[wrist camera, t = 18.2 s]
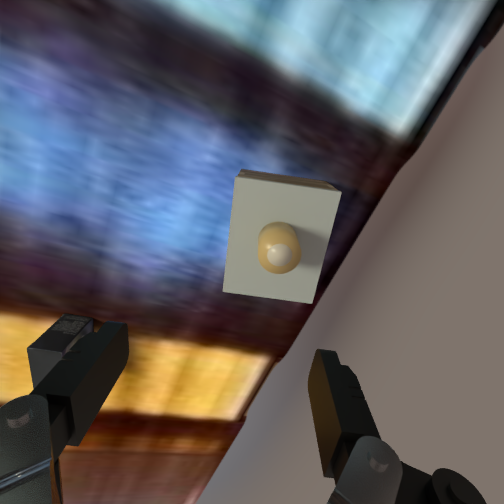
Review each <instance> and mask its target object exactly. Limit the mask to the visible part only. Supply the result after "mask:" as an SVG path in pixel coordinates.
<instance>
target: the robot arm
mask: <svg viewBox="0 0 504 504" xmlns="http://www.w3.org/2000/svg"><path fill="white" fill-rule="evenodd" d="M128 356H129V342H128V326H127V324H126V323H121V322H113V321H106V322H105V323H104V324H103V326H102V327H101V328H100V329H99V330H98V332H90V333H88V334H86V335H85V336H83V337H82V338H80V339H78V340H77V341H76V343H75V344H74V345H73V346H72V347H71V348H70V349H69V352H67V353H66V354H65V355H64V356H63V357H62V358H61V360H59V362H58V363H57V364H56V365H55V366H54V367H53V368H52V369H51V371H50V372H49V373H48V374H47V375H46V376H45V377H44V378H43V379H42V381H41V382H40V383H39V384H38V385H37V386H36V387H35V388H34V390H33V391H32V392H31V393H30V394H29V395H25V396H21V397H18V398H15V399H13V400H11V401H9V402H8V403H6V404H5V405H3V406H2V407H1V408H0V504H63V492H62V481H61V470H60V459H59V456H60V454H61V453H62V451H63V449H64V448H65V446H66V445H71V446H79V444H80V443H81V441H82V439H83V437H84V436H85V434H86V432H87V431H88V429H89V427H90V426H91V424H92V422H93V420H94V419H95V417H96V415H97V414H98V412H99V410H100V408H101V407H102V405H103V403H104V402H105V400H106V398H107V397H108V395H109V393H110V391H111V390H112V388H113V386H114V385H115V383H116V381H117V379H118V378H119V376H120V374H121V373H122V371H123V369H124V368H125V365H126V363H127V360H128ZM308 392H309V398H310V403H311V409H312V414H313V420H314V425H315V431H316V437H317V442H318V448H319V453H320V458H321V464H322V470H323V475H324V477H329V478H334V480H335V485H336V487H335V489H334V491H333V493H332V494H331V496H330V498H329V500H328V502H327V504H486V502H485V500H484V498H483V497H482V495H481V494H480V493H479V491H478V490H477V489H476V488H475V486H474V485H473V484H472V483H470V482H469V481H468V480H467V479H466V478H465V477H463V476H462V475H460V474H459V473H457V472H455V471H453V470H450V469H445V468H440V469H437V470H436V471H435V472H434V473H433V475H432V476H431V475H429V474H427V473H425V472H422V471H420V470H418V469H416V468H413V467H411V466H409V465H407V464H405V463H403V462H402V461H400V459H399V457H398V455H397V454H396V453H395V451H394V450H393V449H392V448H391V447H390V446H389V445H388V444H387V443H385V442H384V441H382V440H381V438H380V435H379V432H378V430H377V428H376V425H375V422H374V420H373V417H372V415H371V412H370V410H369V407H368V404H367V402H366V400H365V397H364V394H363V392H362V390H361V386H360V384H359V381H358V379H357V376H356V375H355V374H354V373H353V372H352V370H351V369H350V368H349V367H348V366H346V365H341V364H340V361H339V358H338V355H337V353H336V352H335V351H331V350H323V349H317V350H316V353H315V356H314V359H313V363H312V366H311V370H310V373H309V378H308Z"/></svg>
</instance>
